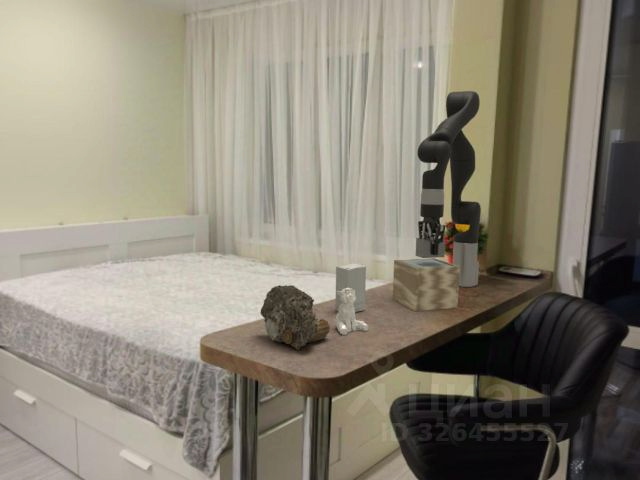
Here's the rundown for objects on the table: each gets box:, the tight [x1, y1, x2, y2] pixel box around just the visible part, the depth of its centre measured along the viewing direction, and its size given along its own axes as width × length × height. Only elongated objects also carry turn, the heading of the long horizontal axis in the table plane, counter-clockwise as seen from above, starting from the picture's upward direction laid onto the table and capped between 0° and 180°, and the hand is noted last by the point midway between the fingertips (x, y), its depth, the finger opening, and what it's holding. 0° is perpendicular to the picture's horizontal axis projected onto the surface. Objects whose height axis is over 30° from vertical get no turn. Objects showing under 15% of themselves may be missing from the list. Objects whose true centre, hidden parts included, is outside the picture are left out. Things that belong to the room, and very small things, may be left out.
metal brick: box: [415, 237, 446, 259], centre depth 174 cm, size 8×5×6 cm, turn 108°
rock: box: [260, 284, 331, 351], centre depth 137 cm, size 18×14×15 cm
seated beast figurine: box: [334, 288, 369, 336], centre depth 148 cm, size 10×9×12 cm
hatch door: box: [401, 258, 451, 268], centre depth 177 cm, size 13×13×1 cm
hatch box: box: [392, 258, 460, 312], centre depth 178 cm, size 16×16×14 cm
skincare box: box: [334, 262, 367, 313], centre depth 167 cm, size 8×6×15 cm
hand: (430, 253), depth 175 cm, fingers closed on metal brick, 5 cm apart
